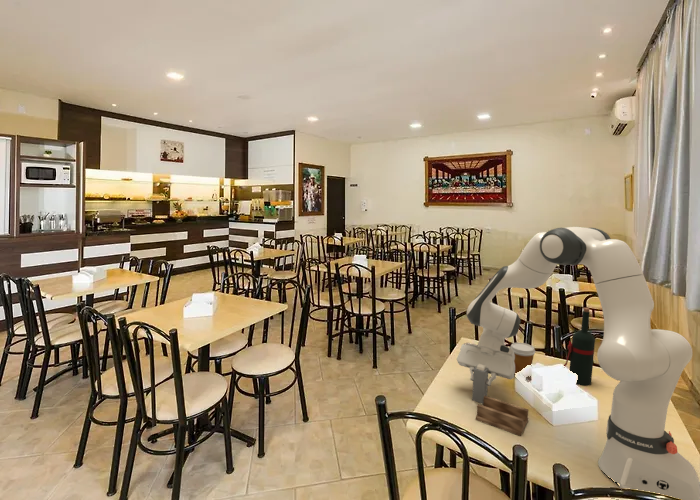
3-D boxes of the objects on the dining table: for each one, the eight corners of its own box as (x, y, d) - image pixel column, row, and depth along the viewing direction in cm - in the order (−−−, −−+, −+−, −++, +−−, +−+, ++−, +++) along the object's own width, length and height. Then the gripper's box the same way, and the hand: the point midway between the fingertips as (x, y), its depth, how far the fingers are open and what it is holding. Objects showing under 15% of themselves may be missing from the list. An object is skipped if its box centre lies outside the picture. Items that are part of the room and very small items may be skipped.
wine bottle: (560, 373, 154) (566, 304, 150) (588, 378, 150) (595, 306, 146) (563, 382, 147) (569, 309, 142) (593, 387, 143) (601, 312, 139)
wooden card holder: (528, 420, 122) (529, 408, 121) (520, 436, 114) (521, 422, 113) (485, 406, 130) (485, 394, 130) (475, 419, 122) (476, 407, 122)
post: (486, 399, 135) (488, 365, 133) (483, 404, 132) (485, 369, 130) (475, 395, 137) (477, 362, 135) (472, 400, 134) (473, 366, 132)
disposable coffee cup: (537, 379, 149) (540, 351, 147) (513, 379, 149) (515, 351, 147) (527, 369, 158) (529, 342, 157) (504, 368, 158) (506, 342, 157)
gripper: (461, 337, 143) (450, 370, 137) (517, 350, 131) (508, 388, 125) (464, 345, 148) (454, 377, 141) (519, 358, 135) (510, 394, 129)
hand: (479, 382), depth 133 cm, fingers closed on post, 4 cm apart
